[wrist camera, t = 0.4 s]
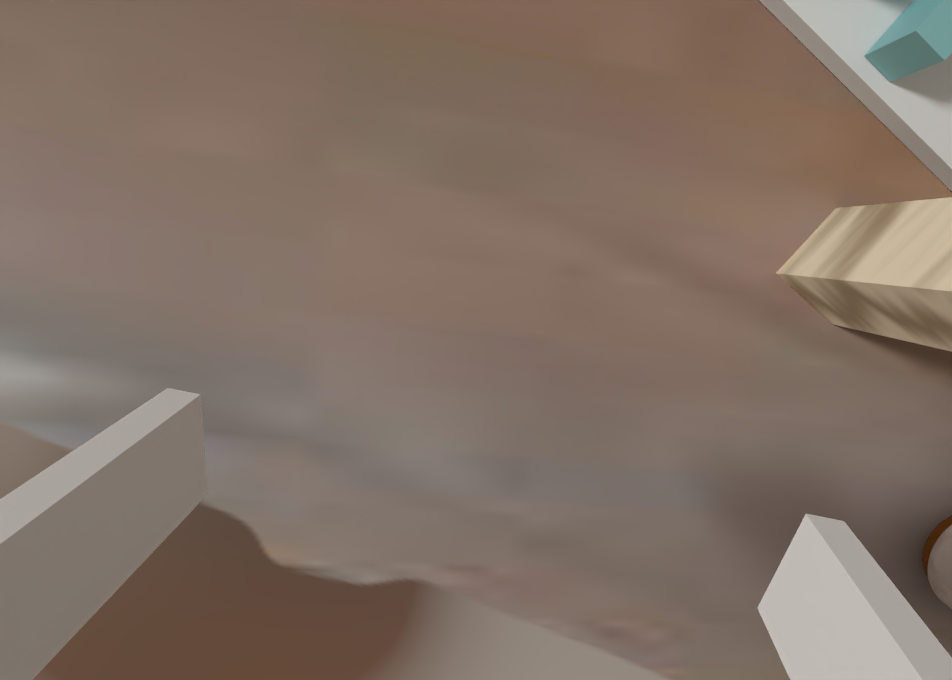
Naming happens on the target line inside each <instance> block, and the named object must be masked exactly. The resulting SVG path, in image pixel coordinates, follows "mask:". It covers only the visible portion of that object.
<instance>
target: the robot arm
mask: <svg viewBox="0 0 952 680" xmlns="http://www.w3.org/2000/svg"><path fill="white" fill-rule="evenodd" d="M207 494H208V485H207V472H206V459H205V446H204V433H203V421H202V408H201V395H200V394H195V393H190V392H185V391H180V390H175V389H170V388H167V389H166V390H164V391H163V392H161V393H160V394H158V395H157V396H155V397H154V398H152V399H151V400H149V401H148V402H146V403H145V404H143V405H142V406H140V407H139V408H137V409H135V410H134V411H132V412H131V413H129V414H128V415H126V416H125V417H123V418H122V419H120V420H119V421H117V422H116V423H114V424H113V425H111V426H110V427H108V428H107V429H105V430H104V431H102V432H101V433H99V434H98V435H96V436H95V437H93V438H92V439H90V440H89V441H87V442H86V443H84V444H83V445H81V446H80V447H78V448H77V449H75V450H74V451H72V452H71V453H69V454H68V455H66V456H65V457H63V458H62V459H60V460H59V461H57V462H56V463H54V464H53V465H51V466H50V467H48V468H47V469H45V470H44V471H42V472H41V473H39V474H38V475H36V476H35V477H33V478H32V479H30V480H29V481H27V482H26V483H24V484H23V485H21V486H20V487H18V488H17V489H15V490H14V491H12V492H11V493H9V494H8V495H6V496H5V497H3V498H2V499H0V680H32V679H33V678H34V677H35V676H36V675H37V674H38V673H39V672H40V671H41V670H42V669H43V668H44V667H45V666H46V665H47V664H48V662H49V661H50V660H51V659H52V658H53V657H54V656H55V655H56V654H57V653H58V652H59V651H60V650H61V649H62V648H63V647H64V645H65V644H66V643H67V642H68V641H69V640H70V639H71V638H72V637H73V636H74V635H75V634H76V633H77V632H78V631H79V630H80V628H81V627H82V626H83V625H84V624H85V623H86V622H87V621H88V620H89V619H90V618H91V617H92V616H93V615H94V614H95V613H96V612H97V611H98V610H99V608H100V607H101V606H102V605H103V604H104V603H105V602H106V601H107V600H108V599H109V598H110V597H111V596H112V595H113V594H114V593H115V591H116V590H117V589H118V588H119V587H120V586H121V585H122V584H123V583H124V582H125V581H126V580H127V579H128V578H129V577H130V576H131V574H133V572H134V571H135V570H136V569H137V568H138V567H139V566H140V565H141V564H142V563H143V562H144V561H145V560H146V559H147V557H148V556H150V554H151V553H152V552H153V551H154V550H155V549H156V548H157V547H158V546H159V545H160V544H161V543H162V542H163V541H164V540H165V539H166V537H167V536H168V535H169V534H170V533H171V532H172V531H173V530H174V529H175V528H176V527H177V526H178V525H179V524H180V523H181V522H182V521H183V519H184V518H185V517H186V516H187V515H188V514H189V513H190V512H191V511H192V510H193V509H194V508H195V507H196V506H197V505H198V504H199V503H200V501H201V500H202V499H203V498H204V497H205V496H206V495H207ZM758 610H759V612H760V615H761V617H762V619H763V621H764V623H765V625H766V628H767V630H768V632H769V634H770V636H771V639H772V641H773V643H774V645H775V647H776V649H777V652H778V654H779V656H780V658H781V660H782V663H783V665H784V667H785V669H786V671H787V674H788V676H789V678H790V680H952V658H951V656H950V655H949V654H948V652H947V651H946V650H945V649H944V647H943V646H942V645H941V644H940V642H939V641H938V640H937V639H936V637H935V636H934V635H933V633H932V632H931V631H930V630H929V628H928V627H927V626H926V625H925V623H924V622H923V621H922V619H921V618H920V617H919V616H918V614H917V613H916V612H915V611H914V609H913V608H912V607H911V606H910V604H909V603H908V602H907V600H906V599H905V598H904V597H903V595H902V594H901V593H900V592H899V590H898V589H897V588H896V586H895V585H894V584H893V583H892V581H891V580H890V579H889V578H888V576H887V575H886V574H885V572H884V571H883V570H882V569H881V567H880V566H879V565H878V564H877V562H876V561H875V560H874V559H873V557H872V556H871V555H870V553H869V552H868V551H867V550H866V548H865V547H864V546H863V545H862V543H861V542H860V541H859V539H858V538H857V537H856V536H855V534H854V533H853V532H852V531H851V529H850V528H849V527H848V526H847V524H846V523H845V522H844V521H841V520H836V519H831V518H826V517H821V516H816V515H811V514H805V516H804V518H803V520H802V522H801V524H800V526H799V528H798V530H797V532H796V534H795V536H794V538H793V540H792V542H791V544H790V546H789V548H788V549H787V551H786V553H785V555H784V557H783V559H782V561H781V563H780V565H779V567H778V569H777V571H776V573H775V575H774V577H773V579H772V581H771V583H770V585H769V587H768V589H767V591H766V592H765V594H764V596H763V598H762V600H761V602H760V604H759V606H758Z"/></svg>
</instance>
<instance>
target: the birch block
mask: <svg viewBox="0 0 952 680" xmlns="http://www.w3.org/2000/svg"><path fill="white" fill-rule="evenodd" d="M776 274H777V275H778V276H779V277H780V278H782V279H783V280H784V281H785V282H786V283H787V284H788V285H789V286H790V287H791V288H793V289H794V290H795V291H796V292H797V293H798V294H799V295H800V296H801V297H803V298H804V299H805V300H806V301H807V302H808V303H809V304H810V305H811V306H812V307H814V308H815V309H816V310H817V311H818V312H819V313H820V314H821V315H822V316H824V317H825V318H826V319H827V320H828V321H829V322H830V323H831V324H834V325H838V326H842V327H847V328H851V329H855V330H860V331H864V332H868V333H873V334H877V335H882V336H886V337H890V338H895V339H899V340H903V341H908V342H912V343H916V344H921V345H925V346H929V347H934V348H938V349H943V350H947V351H951V352H952V197H949V198H939V199H928V200H918V201H907V202H897V203H886V204H876V205H865V206H855V207H844V208H836V209H835V210H834V211H833V212H832V213H831V214H830V215H829V216H828V217H827V218H826V220H825V221H824V222H823V223H822V224H821V225H820V226H819V227H818V228H817V229H816V230H815V231H814V233H813V234H812V235H811V236H810V237H809V238H808V239H807V240H806V241H805V242H804V243H803V244H802V246H801V247H800V248H799V249H798V250H797V251H796V252H795V253H794V254H793V255H792V256H791V257H790V259H789V260H788V261H787V262H786V263H785V264H784V265H783V266H782V267H781V268H780V269H779V270H778V272H777V273H776Z"/></svg>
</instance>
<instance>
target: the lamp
mask: <svg viewBox="0 0 952 680" xmlns="http://www.w3.org/2000/svg"><path fill="white" fill-rule="evenodd" d="M923 566H924V570H925V573H926V575H927V576H928V579H929V583H930V586H931V588H932V590H933V592H934V593H935V595H936V596H937V597H938V598H939V599H940V601H942V602H943V603H944V604H945V605H946V606H948V607H949V608H950V609H951V610H952V516H951V517H949V518H948V519H946V520H945V521H943V522H942V523H941V524H940V525H938V526H937V527H936V528H935V530H934V531H933V532H932V533H931V535H930V536H929V538H928V540H927V542H926V544H925V547H924V551H923Z"/></svg>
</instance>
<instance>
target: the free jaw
mask: <svg viewBox="0 0 952 680" xmlns="http://www.w3.org/2000/svg"><path fill="white" fill-rule="evenodd" d="M951 53H952V0H913V1H912V2H911V3H910V4H909V6H908V7H907V8H906V9H905V10H904V11H903V12H902V13H901V15H900V16H899V17H898V18H897V19H896V20H895V21H894V23H893V24H892V25H891V26H890V27H889V28H888V29H887V30H886V32H885V33H884V34H883V35H882V36H881V37H880V38H879V39H878V41H877V42H876V43H875V44H874V45H873V46H872V47H871V49H870V50H869V51H868V52H867V53H866V54H865V55H864V56H865V57H866V58H867V59H868V60H869V61H870V62H871V63H872V64H873V65H874V66H875V67H876V68H877V69H878V70H879V71H880V72H881V73H882V74H883V75H884V76H885V77H886V78H887V79H888V80H889V81H890V82H891V81H893V80H896V79H899V78H901V77H904V76H906V75H909V74H911V73H914V72H917V71H919V70H922V69H924V68H927V67H929V66H932V65H935V64H937V63H940V62H942V61H945V60H946V59H947V57H948V56H949V55H950V54H951Z"/></svg>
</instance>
